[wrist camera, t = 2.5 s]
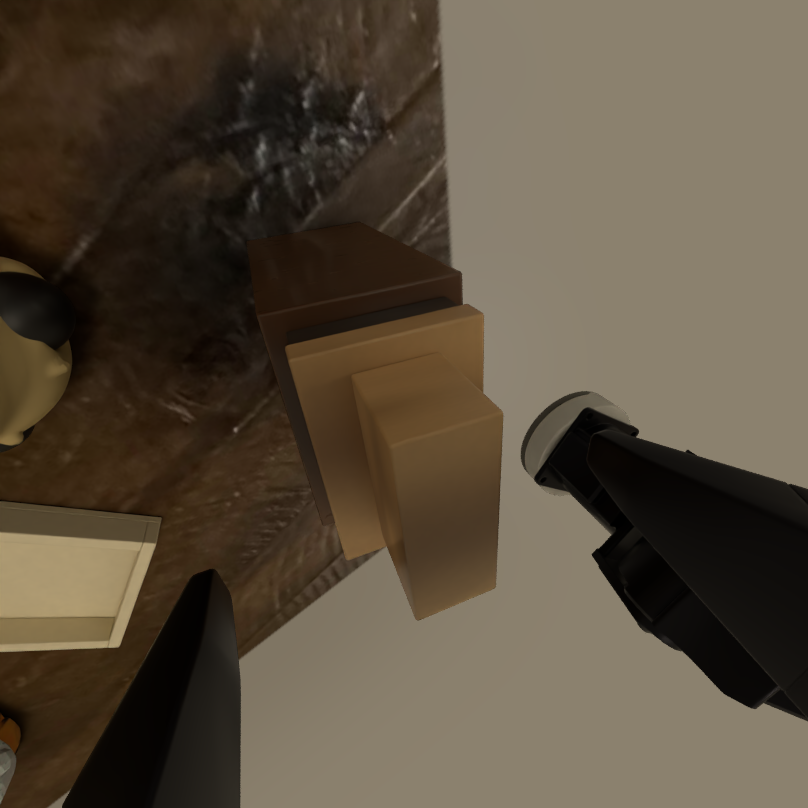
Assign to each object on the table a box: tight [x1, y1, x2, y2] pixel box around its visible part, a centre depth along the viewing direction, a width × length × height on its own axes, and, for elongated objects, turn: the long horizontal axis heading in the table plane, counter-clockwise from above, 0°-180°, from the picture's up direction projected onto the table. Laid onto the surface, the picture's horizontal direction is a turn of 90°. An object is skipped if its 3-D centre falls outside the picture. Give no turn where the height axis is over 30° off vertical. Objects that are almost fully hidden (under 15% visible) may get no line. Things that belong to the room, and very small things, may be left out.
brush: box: [285, 297, 503, 620], centre depth 9 cm, size 6×4×4 cm
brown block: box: [246, 222, 463, 526], centre depth 15 cm, size 7×5×10 cm
